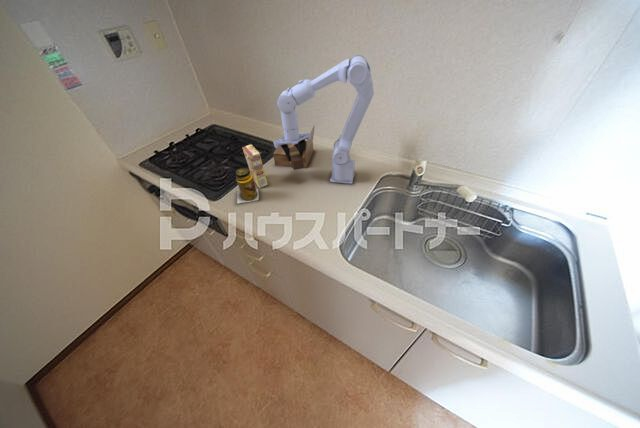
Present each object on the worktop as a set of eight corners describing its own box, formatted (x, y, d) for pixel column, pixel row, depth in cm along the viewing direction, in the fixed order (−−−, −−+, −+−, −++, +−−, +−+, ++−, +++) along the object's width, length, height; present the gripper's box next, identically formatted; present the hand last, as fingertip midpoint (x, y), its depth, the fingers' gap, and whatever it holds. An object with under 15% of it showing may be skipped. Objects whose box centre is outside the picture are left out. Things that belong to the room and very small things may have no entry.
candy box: (268, 184, 100) (260, 152, 90) (259, 188, 99) (249, 156, 88) (260, 175, 106) (251, 143, 95) (251, 178, 104) (241, 146, 94)
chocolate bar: (296, 154, 103) (295, 146, 100) (304, 167, 95) (303, 159, 93) (287, 156, 102) (285, 148, 99) (293, 170, 95) (292, 161, 92)
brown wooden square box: (313, 151, 119) (312, 139, 114) (306, 168, 108) (305, 156, 104) (285, 149, 121) (283, 137, 117) (275, 165, 111) (272, 153, 107)
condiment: (259, 200, 94) (251, 175, 85) (237, 204, 93) (227, 179, 84) (258, 189, 99) (251, 164, 90) (237, 192, 98) (228, 168, 89)
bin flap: (312, 139, 114) (313, 139, 114) (304, 156, 104) (305, 156, 104) (314, 125, 109) (314, 125, 109) (306, 140, 99) (306, 141, 99)
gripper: (274, 135, 83) (281, 168, 93) (312, 126, 87) (314, 158, 97) (269, 128, 88) (275, 159, 98) (305, 119, 92) (308, 151, 101)
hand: (294, 158), depth 98 cm, fingers closed on chocolate bar, 4 cm apart
